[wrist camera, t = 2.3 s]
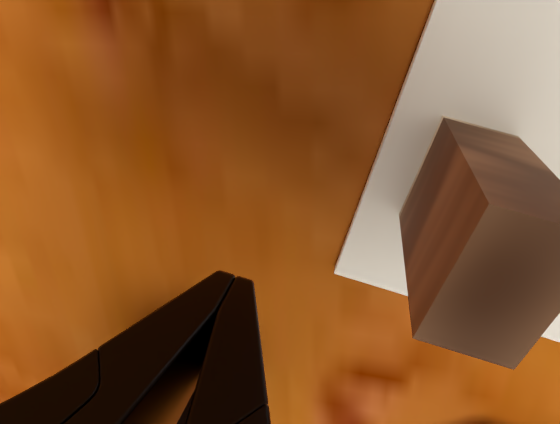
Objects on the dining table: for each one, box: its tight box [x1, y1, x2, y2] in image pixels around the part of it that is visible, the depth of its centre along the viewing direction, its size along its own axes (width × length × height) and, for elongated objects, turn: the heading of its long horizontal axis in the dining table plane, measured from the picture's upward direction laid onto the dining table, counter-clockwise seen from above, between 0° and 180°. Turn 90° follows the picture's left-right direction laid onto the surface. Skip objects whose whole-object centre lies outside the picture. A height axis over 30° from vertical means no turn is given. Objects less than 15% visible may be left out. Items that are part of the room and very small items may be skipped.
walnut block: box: [399, 115, 560, 369], centre depth 15 cm, size 3×5×8 cm, turn 167°
